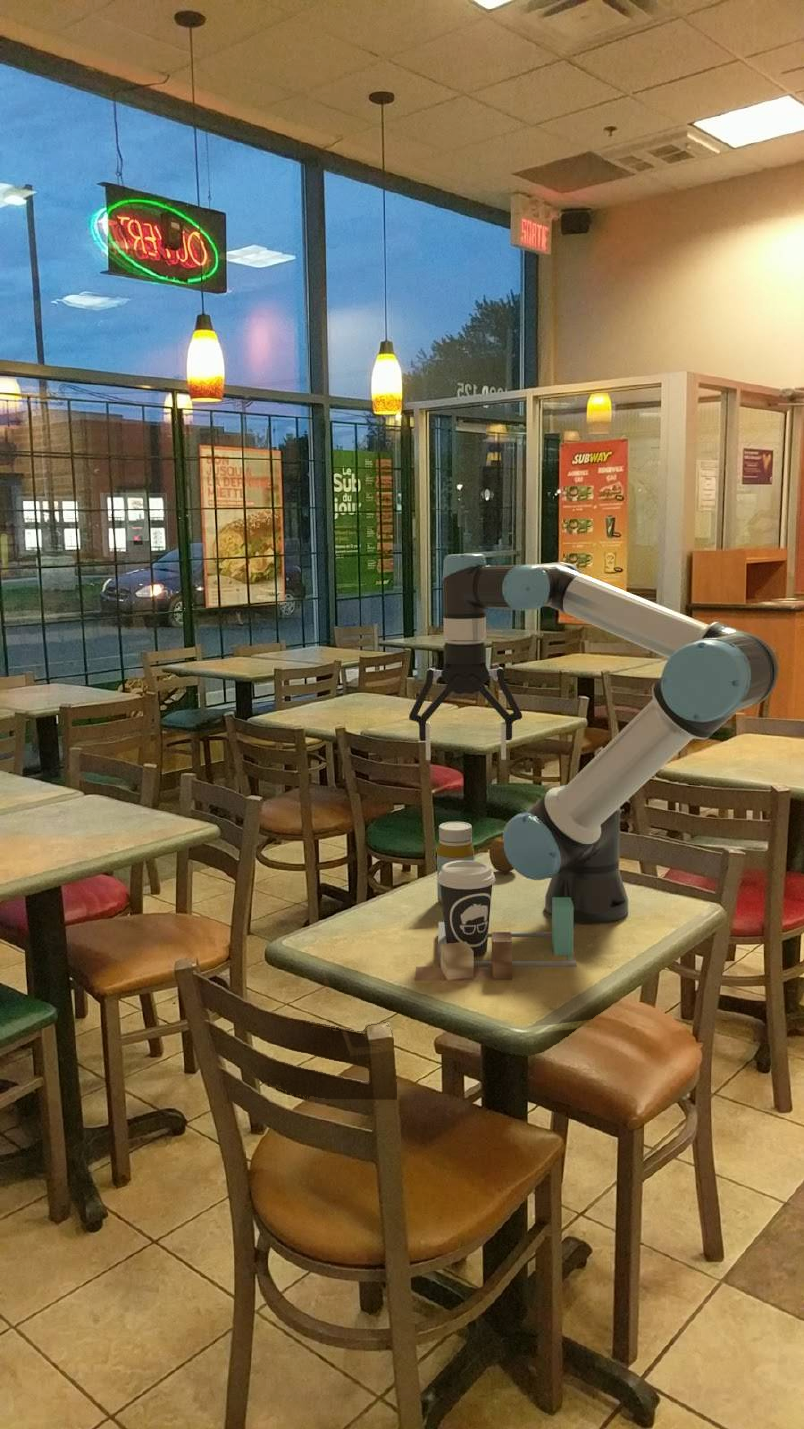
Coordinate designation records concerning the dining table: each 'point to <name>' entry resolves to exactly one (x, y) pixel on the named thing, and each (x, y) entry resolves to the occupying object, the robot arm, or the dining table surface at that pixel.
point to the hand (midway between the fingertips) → (465, 758)
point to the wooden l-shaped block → (497, 972)
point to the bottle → (453, 846)
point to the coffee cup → (467, 902)
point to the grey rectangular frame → (560, 935)
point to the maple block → (457, 960)
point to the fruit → (499, 856)
